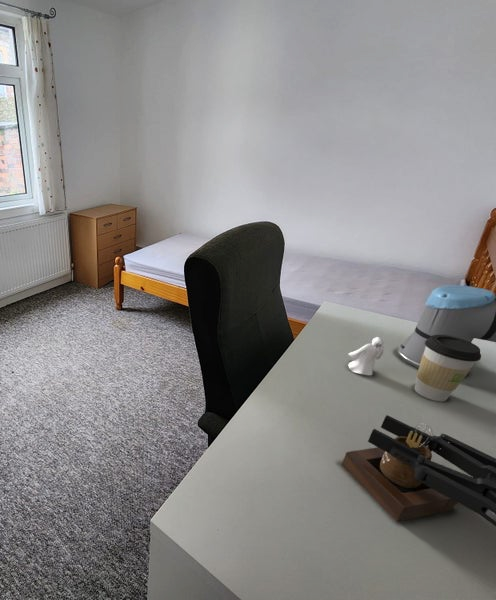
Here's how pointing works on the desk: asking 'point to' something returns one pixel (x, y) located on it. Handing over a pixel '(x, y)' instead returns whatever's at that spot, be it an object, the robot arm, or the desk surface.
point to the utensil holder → (399, 469)
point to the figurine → (366, 357)
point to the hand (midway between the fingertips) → (377, 428)
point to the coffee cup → (444, 366)
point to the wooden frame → (393, 488)
